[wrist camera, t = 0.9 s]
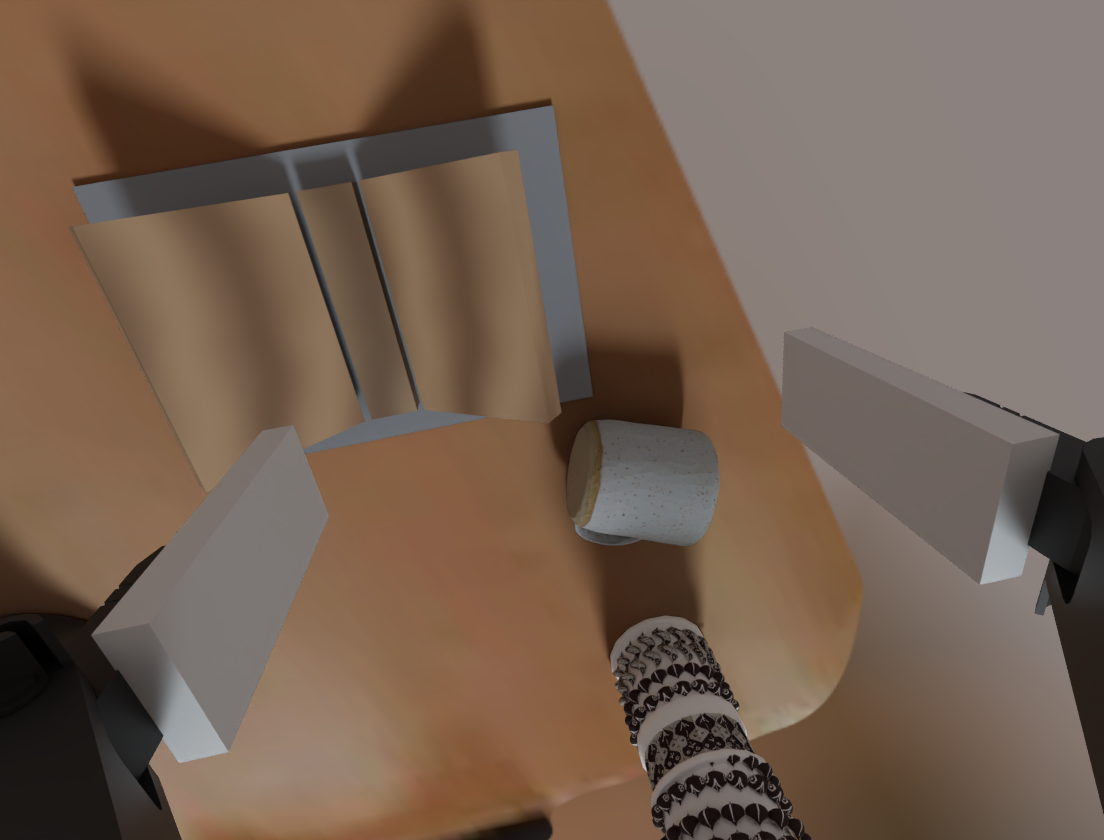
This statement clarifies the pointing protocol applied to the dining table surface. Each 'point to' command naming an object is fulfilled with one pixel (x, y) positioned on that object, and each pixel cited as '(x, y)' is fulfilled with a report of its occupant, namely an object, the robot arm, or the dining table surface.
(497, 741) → the dining table surface
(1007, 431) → the robot arm
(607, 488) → the ceramic mug
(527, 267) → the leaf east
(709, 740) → the decorative candle
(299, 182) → the underlay mat
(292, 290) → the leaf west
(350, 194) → the centre strip
